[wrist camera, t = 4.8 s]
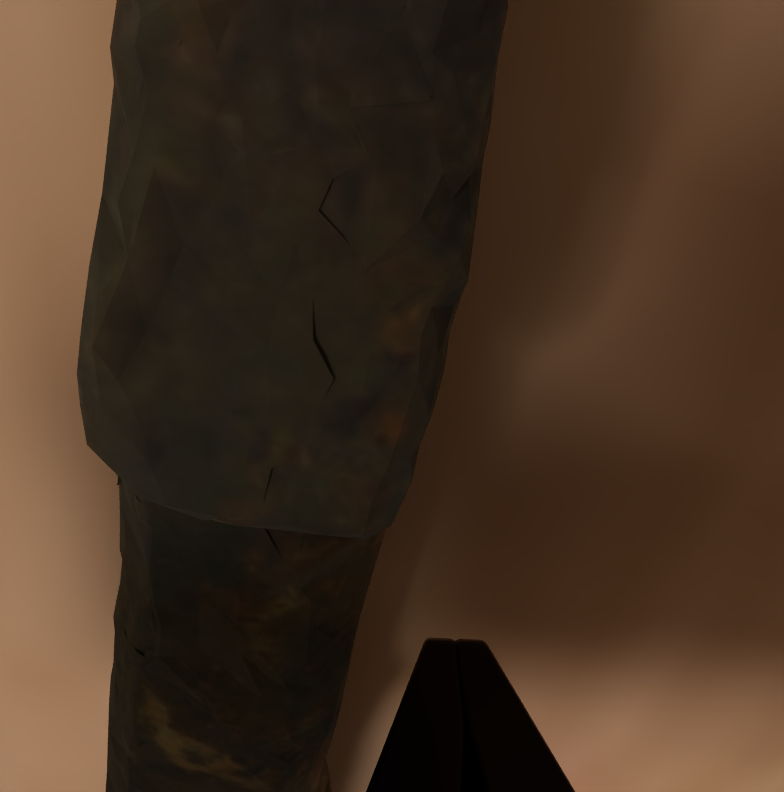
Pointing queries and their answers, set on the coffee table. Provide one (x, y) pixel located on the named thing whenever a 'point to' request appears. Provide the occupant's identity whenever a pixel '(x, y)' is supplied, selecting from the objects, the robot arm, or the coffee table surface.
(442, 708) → the robot arm
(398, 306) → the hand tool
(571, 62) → the coffee table surface
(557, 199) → the coffee table surface
